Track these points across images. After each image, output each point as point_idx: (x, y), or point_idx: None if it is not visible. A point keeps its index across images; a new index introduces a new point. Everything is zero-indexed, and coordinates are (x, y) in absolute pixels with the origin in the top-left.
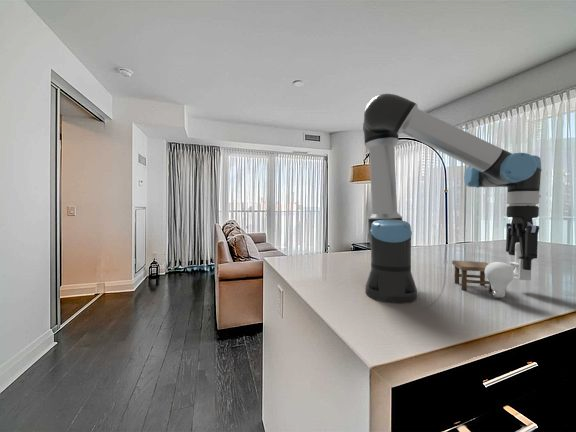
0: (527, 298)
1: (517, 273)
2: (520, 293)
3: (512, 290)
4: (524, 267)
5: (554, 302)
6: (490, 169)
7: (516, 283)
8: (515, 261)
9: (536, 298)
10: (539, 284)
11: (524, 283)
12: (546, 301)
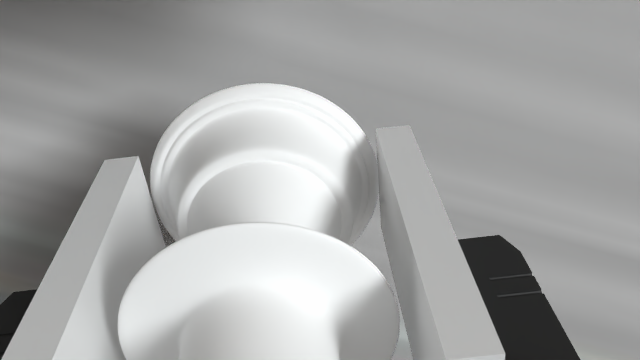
0: (25, 107)
1: (196, 195)
2: (190, 102)
3: (279, 63)
4: (6, 317)
5: (33, 257)
6: None
7: (592, 181)
8: (230, 309)
9: (78, 177)
10: (592, 328)
11: (605, 242)
12: (25, 216)
